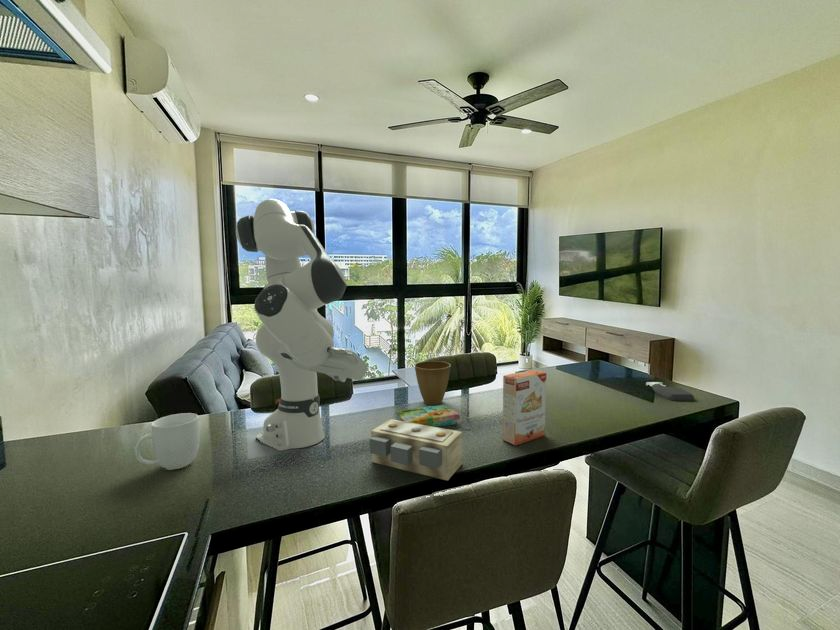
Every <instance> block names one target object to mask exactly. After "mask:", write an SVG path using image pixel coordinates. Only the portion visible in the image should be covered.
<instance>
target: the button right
mask: <svg viewBox="0 0 840 630" xmlns="http://www.w3.org/2000/svg"><path fill="white" fill-rule="evenodd" d="M419 464H420V465H423V466H427V467H431V468H436V469H438V468H439V467H440V466H441V465H442V449H438V448H433V447H429V446H423V447H421V448H420V449H419Z"/></svg>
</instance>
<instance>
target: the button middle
mask: <svg viewBox="0 0 840 630" xmlns="http://www.w3.org/2000/svg"><path fill="white" fill-rule="evenodd" d="M391 461H392V462H396V463H400V464H404V465H409V464H410V463H411V462H412V461H413V458H412V446H409V445H405V444H400V443H394V444H393V445H392V446H391Z"/></svg>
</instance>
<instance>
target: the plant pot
mask: <svg viewBox="0 0 840 630" xmlns="http://www.w3.org/2000/svg"><path fill="white" fill-rule="evenodd" d="M451 367H452V366H451V363H449V362H446V361H438V360H428V361H427V360H426V361H425V360H424V361H419V362H415V364H414V371H415V376H416V381H417V385H418V388H419V393H420V395H421V398H422V399H423V402H424V404H426V405H428V406H437V405H441V403H443V400H444V396H445V394H446V391H447V388H448V383H449V378H450V372H451Z"/></svg>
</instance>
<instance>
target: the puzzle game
mask: <svg viewBox="0 0 840 630" xmlns="http://www.w3.org/2000/svg"><path fill="white" fill-rule="evenodd" d="M395 415H396V416H397V417H398V420H399V421H404V422H410V423H415V424H421V425H426V426H432V427H445V426H451V425H456V424H457V423H458V421H459V420H460V419H461V415H460V414H459V413H458V412H456V410H454V409H453V408H452V407H450V406H449V404H448V405H447V404H446V403H445V404H437V405H428V406H423V407H417V408H411V409H404V410H397V411H395Z"/></svg>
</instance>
